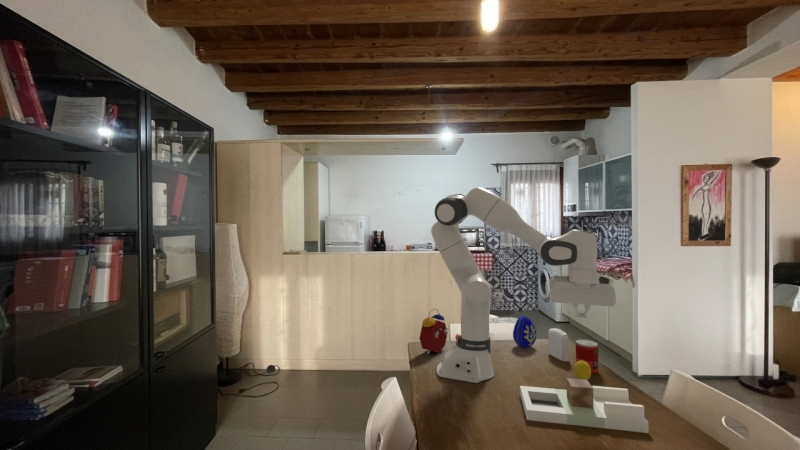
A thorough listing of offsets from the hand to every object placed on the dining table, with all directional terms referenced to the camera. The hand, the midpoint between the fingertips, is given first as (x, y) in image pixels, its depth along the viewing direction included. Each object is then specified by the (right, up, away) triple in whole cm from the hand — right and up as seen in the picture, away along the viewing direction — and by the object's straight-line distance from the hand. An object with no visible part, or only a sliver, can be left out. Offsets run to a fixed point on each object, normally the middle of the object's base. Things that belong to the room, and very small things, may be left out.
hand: (581, 317), depth 116 cm
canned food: (+13, -27, +20) cm, 36 cm away
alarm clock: (-45, -28, +42) cm, 68 cm away
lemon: (+6, -27, +10) cm, 29 cm away
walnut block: (-6, -24, -11) cm, 27 cm away
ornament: (-2, -28, +47) cm, 55 cm away
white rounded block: (+8, -27, +34) cm, 44 cm away
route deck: (-7, -27, -11) cm, 30 cm away
